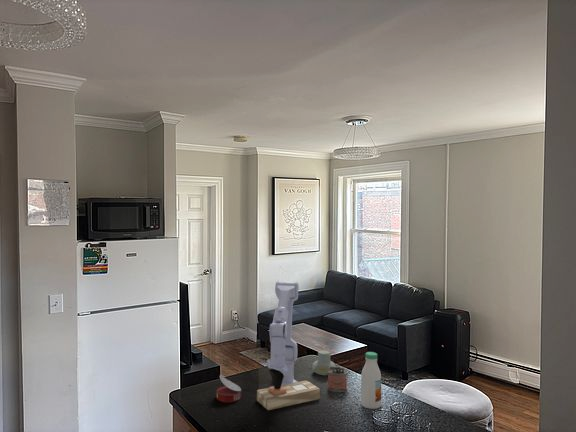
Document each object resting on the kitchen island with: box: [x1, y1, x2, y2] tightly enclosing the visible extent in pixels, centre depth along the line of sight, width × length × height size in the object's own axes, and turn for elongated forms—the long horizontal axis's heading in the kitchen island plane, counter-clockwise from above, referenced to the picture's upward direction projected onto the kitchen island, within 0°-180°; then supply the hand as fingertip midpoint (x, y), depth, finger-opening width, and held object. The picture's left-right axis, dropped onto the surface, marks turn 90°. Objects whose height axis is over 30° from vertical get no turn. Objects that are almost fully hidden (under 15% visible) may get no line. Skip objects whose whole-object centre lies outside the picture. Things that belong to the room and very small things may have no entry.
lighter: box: [327, 365, 348, 393], centre depth 178 cm, size 8×3×10 cm, turn 84°
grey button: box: [291, 384, 308, 391], centre depth 170 cm, size 5×5×3 cm
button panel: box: [256, 379, 321, 411], centre depth 168 cm, size 10×23×4 cm, turn 119°
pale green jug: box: [311, 349, 337, 377], centre depth 198 cm, size 11×8×10 cm
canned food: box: [216, 374, 242, 403], centre depth 169 cm, size 11×10×10 cm
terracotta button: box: [268, 385, 286, 396], centre depth 165 cm, size 5×5×3 cm
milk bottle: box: [360, 351, 382, 410], centre depth 164 cm, size 8×8×20 cm
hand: (277, 388), depth 165 cm, fingers closed, pressing on terracotta button
